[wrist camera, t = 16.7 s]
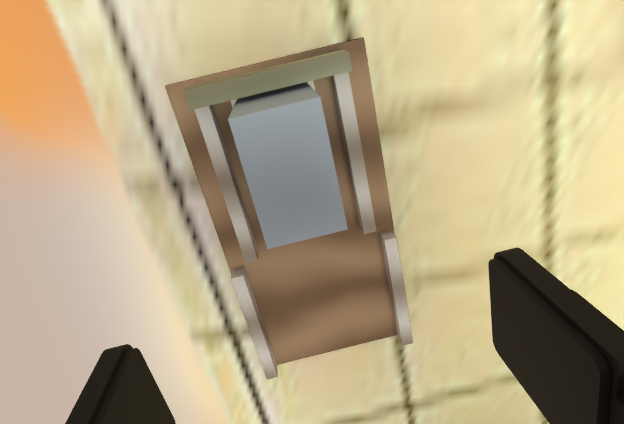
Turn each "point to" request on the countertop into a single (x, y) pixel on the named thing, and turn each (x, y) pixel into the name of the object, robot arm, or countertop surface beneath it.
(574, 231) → the countertop surface
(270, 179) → the slider block
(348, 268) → the track
